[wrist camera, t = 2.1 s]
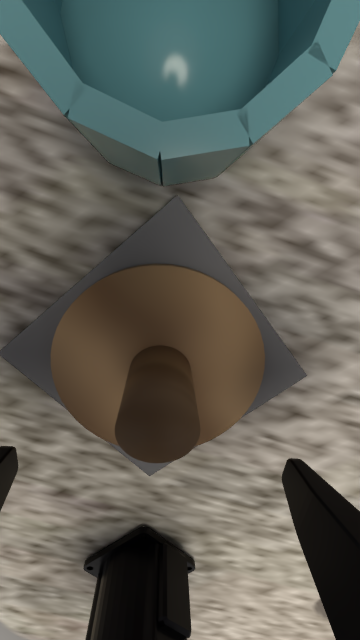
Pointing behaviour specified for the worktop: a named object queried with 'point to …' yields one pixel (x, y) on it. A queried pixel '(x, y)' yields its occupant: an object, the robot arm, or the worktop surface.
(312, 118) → the worktop surface
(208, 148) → the bowl
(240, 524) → the worktop surface
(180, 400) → the lid
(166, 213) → the mat
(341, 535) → the robot arm
